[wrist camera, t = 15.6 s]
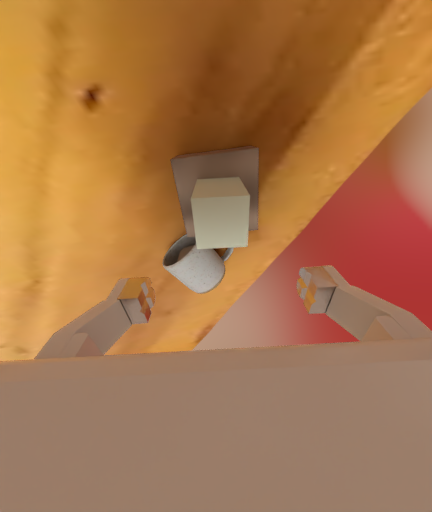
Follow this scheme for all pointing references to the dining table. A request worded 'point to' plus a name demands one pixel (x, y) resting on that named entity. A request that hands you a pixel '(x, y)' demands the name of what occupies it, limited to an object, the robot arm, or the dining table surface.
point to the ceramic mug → (195, 265)
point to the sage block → (220, 213)
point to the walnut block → (216, 166)
